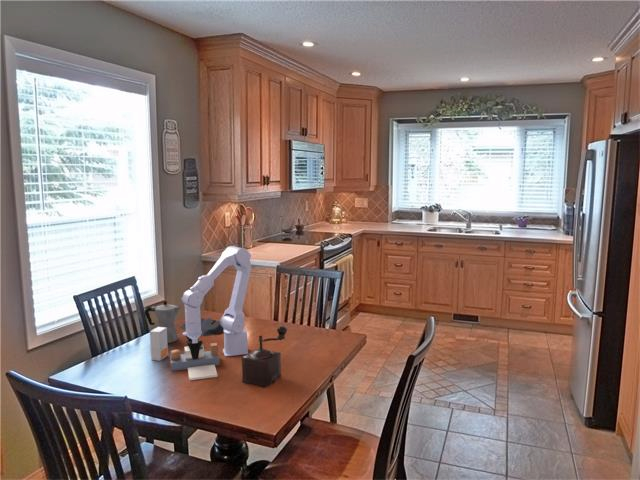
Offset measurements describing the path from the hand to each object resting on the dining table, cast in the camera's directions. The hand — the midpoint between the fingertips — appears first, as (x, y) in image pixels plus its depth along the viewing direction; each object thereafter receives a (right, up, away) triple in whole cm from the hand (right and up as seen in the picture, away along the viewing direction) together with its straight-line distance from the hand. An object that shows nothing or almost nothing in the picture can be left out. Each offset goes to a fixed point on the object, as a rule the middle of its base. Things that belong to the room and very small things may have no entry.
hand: (194, 355), depth 189 cm
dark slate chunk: (-6, +2, +43) cm, 44 cm away
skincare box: (-16, -3, +7) cm, 17 cm away
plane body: (0, -4, +1) cm, 4 cm away
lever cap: (0, -1, 0) cm, 1 cm away
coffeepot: (-20, 0, +27) cm, 34 cm away
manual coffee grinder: (+29, -5, -12) cm, 32 cm away
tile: (+5, -5, -8) cm, 11 cm away
